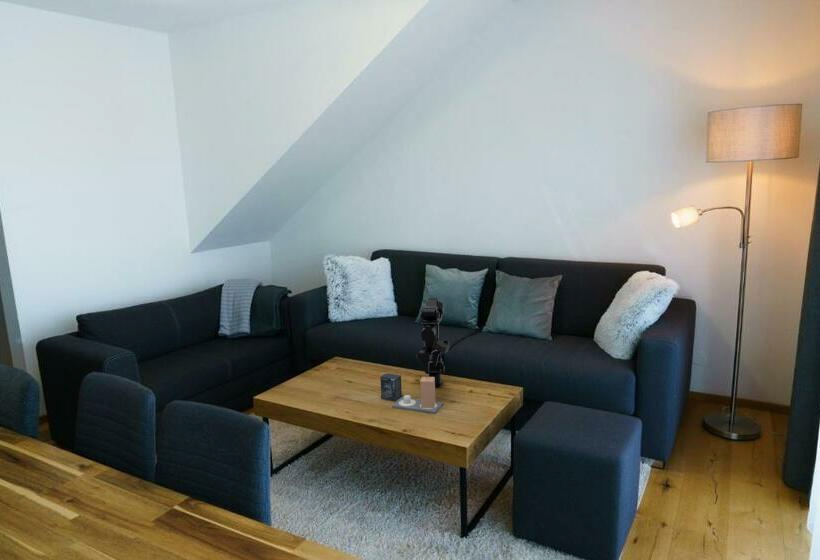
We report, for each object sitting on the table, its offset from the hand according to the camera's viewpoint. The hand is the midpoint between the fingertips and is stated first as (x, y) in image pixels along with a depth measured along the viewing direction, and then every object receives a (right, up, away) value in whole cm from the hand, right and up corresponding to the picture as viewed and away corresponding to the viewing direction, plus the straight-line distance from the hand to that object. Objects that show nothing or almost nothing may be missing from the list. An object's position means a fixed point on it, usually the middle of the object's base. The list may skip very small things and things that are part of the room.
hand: (431, 369), depth 260 cm
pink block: (-2, -14, -10) cm, 17 cm away
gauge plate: (-6, -15, -7) cm, 18 cm away
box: (-18, -14, +3) cm, 23 cm away
